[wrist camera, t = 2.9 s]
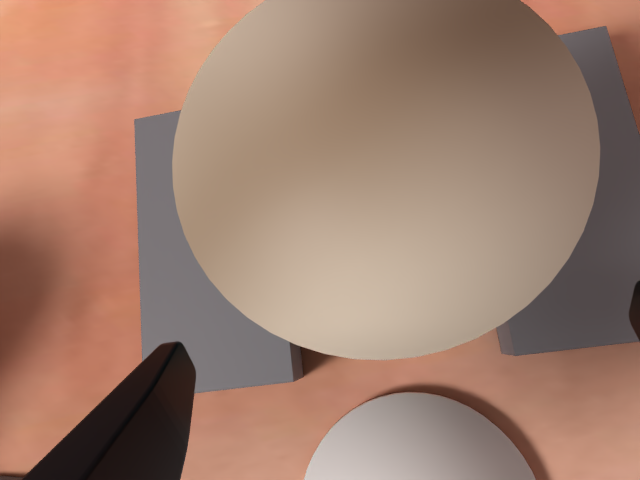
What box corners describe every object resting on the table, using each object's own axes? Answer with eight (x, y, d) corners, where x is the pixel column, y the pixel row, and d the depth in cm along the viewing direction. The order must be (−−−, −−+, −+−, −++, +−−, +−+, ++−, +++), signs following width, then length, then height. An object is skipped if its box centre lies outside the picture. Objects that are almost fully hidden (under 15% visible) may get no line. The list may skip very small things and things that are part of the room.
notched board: (665, 334, 17) (700, 334, 15) (168, 392, 20) (143, 399, 18) (584, 56, 20) (605, 26, 18) (156, 138, 22) (134, 119, 20)
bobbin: (491, 262, 19) (701, 110, 6) (391, 375, 18) (392, 464, 6) (377, 171, 20) (355, -101, 8) (283, 274, 20) (96, 169, 7)
